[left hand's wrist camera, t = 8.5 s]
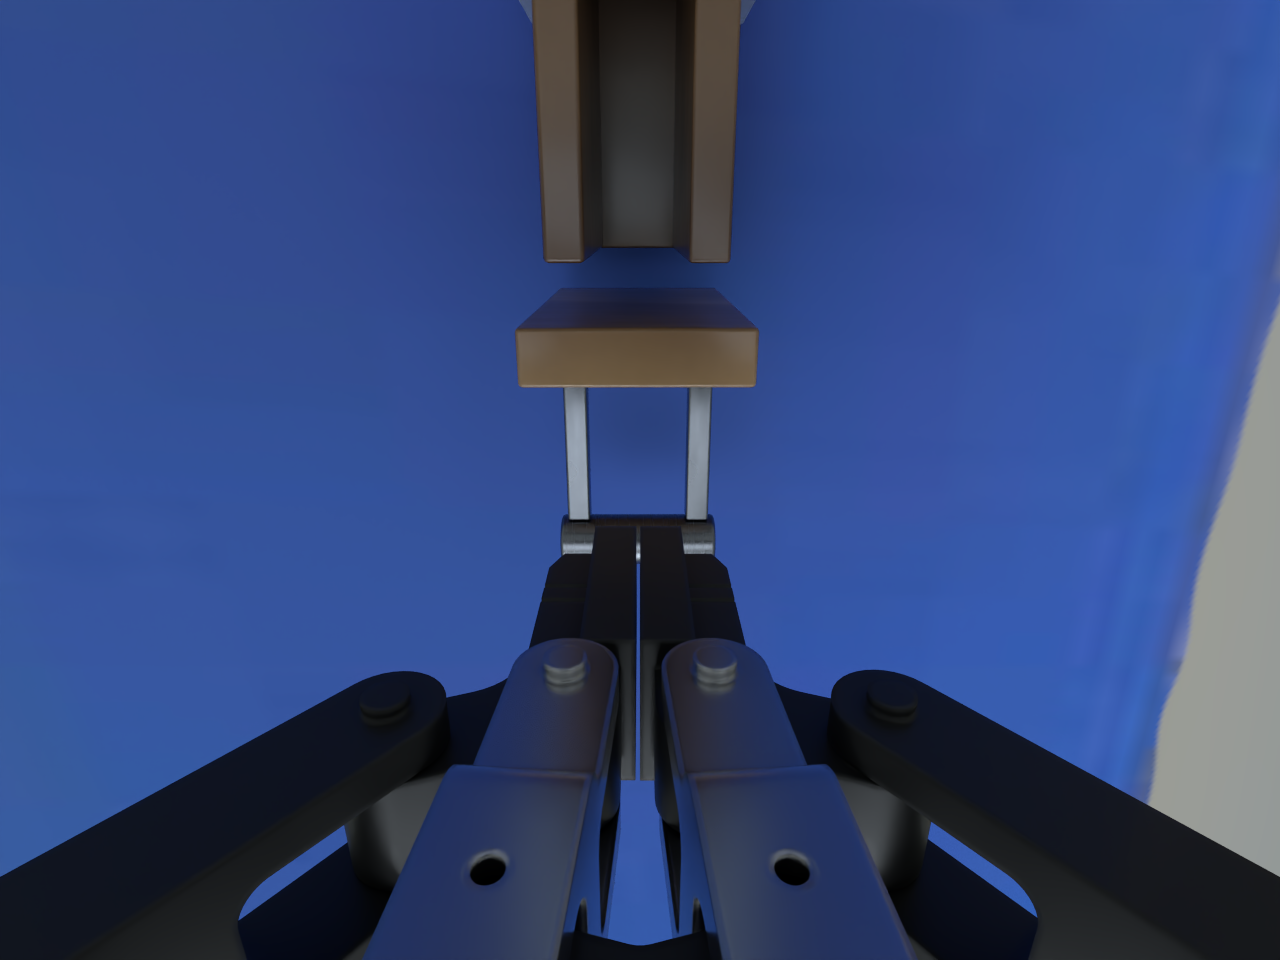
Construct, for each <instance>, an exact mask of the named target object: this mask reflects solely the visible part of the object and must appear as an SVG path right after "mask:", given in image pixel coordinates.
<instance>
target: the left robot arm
mask: <svg viewBox="0 0 1280 960" xmlns="http://www.w3.org/2000/svg"><path fill="white" fill-rule="evenodd" d="M636 644H637V557H636V526H596V527H595V533H594V540H593V547H592V553H565V554H564V555H563V556H562V557H561V558H559V559H558V560H557V561H556V562H555V563H554V564H553V565H552V566H551V567H550V568H549V571H548V575H547V579H546V583H545V588H544V591H543V595H542V602H541V603H540V607H539V611H538V615H537V619H536V623H535V626H534V630H533V634H532V638H531V642H530V646H529V649H528V650H526V651H525V652H524V653H522V654H521V655H520V656H519V657H518V658H517V660H516V661H515V663H514V664H513V666H512V669H511V671H510V674H509V676H508V678H507V679H505V680H504V681H502V682H500V683H498V684H496V685H494V686H491V687H488V688H486V689H482V690H479V691H475V692H471V693H466V694H461V695H457V696H452V697H448V698H446V692H445V690H444V687H443V686H442V685H441V683H440V682H439V681H437V680H436V679H435V678H433V677H431V676H429V675H426V674H423V673H419V672H412V671H399V672H390V673H384V674H380V675H376V676H373V677H370V678H367V679H365V680H362V681H360V682H358V683H356V684H354V685H352V686H350V687H349V688H347V689H345V690H343V691H341V692H339V693H337V694H336V695H334V696H332V697H330V698H328V699H326V700H325V701H323V702H321V703H319V704H317V705H315V706H314V707H312V708H310V709H308V710H306V711H304V712H303V713H301V714H299V715H297V716H295V717H293V718H292V719H290V720H288V721H286V722H284V723H282V724H280V725H279V726H277V727H275V728H273V729H271V730H269V731H268V732H266V733H264V734H262V735H260V736H258V737H257V738H255V739H253V740H251V741H249V742H247V743H246V744H244V745H242V746H240V747H238V748H236V749H235V750H233V751H231V752H229V753H227V754H225V755H224V756H222V757H220V758H218V759H216V760H214V761H212V762H211V763H209V764H207V765H205V766H203V767H201V768H200V769H198V770H196V771H194V772H192V773H190V774H189V775H187V776H185V777H183V778H181V779H179V780H178V781H176V782H174V783H172V784H170V785H168V786H167V787H165V788H163V789H161V790H159V791H157V792H155V793H154V794H152V795H150V796H148V797H146V798H144V799H143V800H141V801H139V802H137V803H135V804H133V805H132V806H130V807H128V808H126V809H124V810H122V811H121V812H119V813H117V814H115V815H113V816H111V817H110V818H108V819H106V820H104V821H102V822H100V823H99V824H97V825H95V826H93V827H91V828H89V829H87V830H86V831H84V832H82V833H80V834H78V835H76V836H75V837H73V838H71V839H69V840H67V841H65V842H64V843H62V844H60V845H58V846H56V847H54V848H53V849H51V850H49V851H47V852H45V853H43V854H42V855H40V856H38V857H36V858H34V859H32V860H30V861H29V862H27V863H25V864H23V865H21V866H19V867H18V868H16V869H14V870H12V871H10V872H8V873H7V874H5V875H3V876H1V877H0V960H1280V877H1279V876H1277V875H1275V874H1273V873H1272V872H1270V871H1268V870H1266V869H1264V868H1262V867H1261V866H1259V865H1257V864H1255V863H1253V862H1251V861H1249V860H1248V859H1246V858H1244V857H1242V856H1240V855H1238V854H1237V853H1235V852H1233V851H1231V850H1229V849H1227V848H1226V847H1224V846H1222V845H1220V844H1218V843H1216V842H1214V841H1213V840H1211V839H1209V838H1207V837H1205V836H1204V835H1202V834H1200V833H1198V832H1196V831H1194V830H1192V829H1191V828H1189V827H1187V826H1185V825H1183V824H1181V823H1180V822H1178V821H1176V820H1174V819H1172V818H1170V817H1168V816H1167V815H1165V814H1163V813H1161V812H1159V811H1158V810H1156V809H1154V808H1152V807H1150V806H1148V805H1147V804H1145V803H1143V802H1141V801H1139V800H1137V799H1136V798H1134V797H1132V796H1130V795H1128V794H1126V793H1124V792H1123V791H1121V790H1119V789H1117V788H1115V787H1113V786H1112V785H1110V784H1108V783H1106V782H1104V781H1102V780H1101V779H1099V778H1097V777H1095V776H1093V775H1091V774H1090V773H1088V772H1086V771H1084V770H1082V769H1080V768H1079V767H1077V766H1075V765H1073V764H1071V763H1069V762H1067V761H1066V760H1064V759H1062V758H1060V757H1058V756H1056V755H1055V754H1053V753H1051V752H1049V751H1047V750H1045V749H1044V748H1042V747H1040V746H1038V745H1036V744H1034V743H1033V742H1031V741H1029V740H1027V739H1025V738H1023V737H1022V736H1020V735H1018V734H1016V733H1014V732H1012V731H1011V730H1009V729H1007V728H1005V727H1003V726H1001V725H999V724H998V723H996V722H994V721H992V720H990V719H988V718H987V717H985V716H983V715H981V714H979V713H977V712H976V711H974V710H972V709H970V708H968V707H966V706H965V705H963V704H961V703H959V702H957V701H955V700H954V699H952V698H950V697H948V696H946V695H944V694H942V693H941V692H939V691H937V690H935V689H933V688H931V687H930V686H928V685H926V684H924V683H922V682H920V681H918V680H916V679H914V678H911V677H909V676H906V675H903V674H899V673H895V672H890V671H884V670H863V671H856V672H853V673H850V674H848V675H846V676H844V677H842V678H841V679H839V680H838V681H837V682H836V684H835V685H834V687H833V689H832V693H831V698H826V697H822V696H817V695H812V694H808V693H803V692H799V691H795V690H792V689H789V688H786V687H783V686H781V685H779V684H777V683H775V682H774V681H773V679H772V676H771V674H770V671H769V669H768V666H767V664H766V663H765V661H764V660H763V658H762V657H761V656H760V655H759V654H758V653H756V652H755V651H754V650H752V649H751V648H749V647H747V646H746V645H745V640H744V636H743V632H742V628H741V624H740V620H739V616H738V612H737V607H736V603H735V602H734V595H733V591H732V588H731V583H730V579H729V574H728V570H727V568H726V567H725V566H724V565H723V564H722V563H721V562H720V561H719V560H718V559H717V558H716V557H715V556H714V555H712V554H711V553H684V546H683V538H682V530H681V526H640V780H654V784H655V803H656V807H657V810H658V812H659V814H660V823H659V827H660V840H661V848H662V856H663V864H664V872H665V880H666V889H667V897H668V905H669V913H670V921H671V930H672V938H673V939H669V940H665V941H662V942H658V943H654V944H650V945H630V944H626V943H622V942H618V941H615V940H611V939H607V938H608V930H609V921H610V913H611V905H612V897H613V889H614V880H615V872H616V864H617V856H618V848H619V840H620V827H621V823H620V790H621V780H635V767H636ZM931 822H933V823H934V824H936V825H937V826H938V827H940V828H941V829H943V830H944V831H946V832H947V833H948V834H950V835H951V836H953V837H954V838H956V839H957V840H959V841H960V842H961V843H963V844H964V845H966V846H967V847H969V848H970V849H971V850H973V851H974V852H976V853H977V854H979V855H980V856H981V857H983V858H984V859H986V860H987V861H989V862H990V863H992V864H993V865H994V866H996V867H997V868H999V869H1000V870H1002V871H1003V872H1004V873H1006V874H1007V875H1009V876H1010V877H1011V878H1012V879H1014V880H1015V881H1016V882H1017V883H1018V884H1019V885H1020V886H1021V887H1022V889H1023V890H1024V891H1025V892H1026V894H1027V895H1028V896H1029V898H1030V900H1031V901H1032V903H1033V905H1034V908H1035V910H1036V913H1037V917H1038V918H1037V917H1035V916H1034V915H1033V914H1031V913H1030V912H1028V911H1027V910H1026V909H1024V908H1023V907H1021V906H1020V905H1019V904H1017V903H1016V902H1015V901H1013V900H1012V899H1010V898H1009V897H1008V896H1006V895H1005V894H1003V893H1002V892H1001V891H999V890H998V889H996V888H995V887H994V886H992V885H991V884H989V883H988V882H987V881H985V880H984V879H983V878H981V877H980V876H978V875H977V874H976V873H974V872H973V871H971V870H970V869H969V868H967V867H966V866H964V865H963V864H962V863H960V862H959V861H958V860H956V859H955V858H953V857H952V856H951V855H949V854H948V853H946V852H945V851H944V850H942V849H941V848H939V847H938V846H937V845H935V844H934V843H932V842H931V841H930V840H928V835H929V830H930V825H931ZM343 825H344V826H345V831H346V836H347V841H348V842H347V843H346V844H345V845H343V846H342V847H341V848H339V849H338V850H336V851H335V852H334V853H332V854H331V855H329V856H328V857H327V858H325V859H324V860H322V861H321V862H320V863H318V864H317V865H316V866H314V867H313V868H311V869H310V870H309V871H307V872H306V873H304V874H303V875H302V876H300V877H299V878H297V879H296V880H295V881H293V882H292V883H290V884H289V885H288V886H286V887H285V888H284V889H282V890H281V891H279V892H278V893H277V894H275V895H274V896H272V897H271V898H270V899H268V900H267V901H265V902H264V903H263V904H261V905H260V906H259V907H257V908H256V909H254V910H253V911H252V912H250V913H249V914H247V915H246V916H245V917H243V918H242V919H240V920H239V921H238V919H239V915H240V912H241V910H242V908H243V906H244V904H245V902H246V901H247V899H248V898H249V896H250V895H251V894H252V892H253V891H254V890H255V889H256V888H257V887H258V886H259V885H260V884H261V883H262V882H263V881H265V880H266V879H267V878H268V877H270V876H271V875H273V874H274V873H276V872H277V871H278V870H280V869H281V868H283V867H284V866H286V865H287V864H288V863H290V862H291V861H293V860H294V859H296V858H297V857H298V856H300V855H301V854H303V853H304V852H306V851H307V850H309V849H310V848H311V847H313V846H314V845H316V844H317V843H319V842H320V841H321V840H323V839H324V838H326V837H327V836H329V835H330V834H332V833H333V832H334V831H336V830H337V829H339V828H340V827H342V826H343Z"/></svg>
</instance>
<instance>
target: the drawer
mask: <svg viewBox="0 0 1280 960" xmlns="http://www.w3.org/2000/svg"><path fill="white" fill-rule="evenodd" d="M531 3H532V25H533V46H534V67H535V89H536V110H537V131H538V152H539V174H540V195H541V216H542V238H543V258H544V260H545V262H548V263H581V262H583V261H585V260H586V259H587V258H589V257H590V256H591V255H592V254H594V253H595V252H596V251H598V250H599V249H600V248H675V249H676V250H677V251H678V252H679V253H680V254H682V255H683V256H684V257H685V258H686V259H687V260H688V261H689V262H691V263H728V262H729V261H730V258H731V234H732V210H733V187H734V163H735V140H736V116H737V92H738V69H739V45H740V22H741V0H531ZM515 341H516V357H517V373H518V384H519V386H520V387H523V388H563V396H564V421H565V446H566V471H567V496H568V514H566V515H564V516H563V518H562V523H561V557H562V556H563V555H564V554H565V553H592V547H593V540H594V533H595V527H596V526H636V557H637V564H640V526H681V530H682V538H683V546H684V553H711V554H712V555H714V556H715V523H714V518H713V516H712V515H710V514H708V492H709V464H710V436H711V408H712V387H754V386H755V384H756V377H757V360H758V342H759V330H758V328H757V327H756V326H755V325H753V324H752V323H751V322H750V321H749V320H748V319H747V318H746V317H745V316H744V315H743V314H742V313H741V312H740V311H739V310H738V309H736V308H735V307H734V306H733V305H732V304H731V303H730V302H729V301H728V300H727V299H726V298H725V297H724V296H723V295H722V294H721V293H719V292H718V291H717V290H716V289H715V288H562V289H560V290H559V291H558V292H556V293H555V294H554V295H553V296H552V297H551V298H550V299H549V300H548V301H546V302H545V303H544V304H543V305H542V306H541V307H540V308H539V309H538V310H537V311H535V312H534V313H533V314H532V315H531V316H530V317H529V318H528V319H527V320H525V321H524V322H523V323H522V324H521V325H520V326H519V327H518V328H517V329H516V331H515ZM588 387H687V426H686V469H685V514H591V475H590V438H589V402H588Z"/></svg>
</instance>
